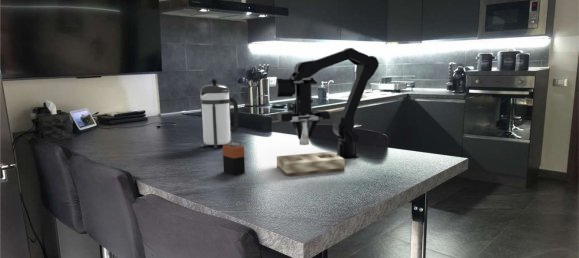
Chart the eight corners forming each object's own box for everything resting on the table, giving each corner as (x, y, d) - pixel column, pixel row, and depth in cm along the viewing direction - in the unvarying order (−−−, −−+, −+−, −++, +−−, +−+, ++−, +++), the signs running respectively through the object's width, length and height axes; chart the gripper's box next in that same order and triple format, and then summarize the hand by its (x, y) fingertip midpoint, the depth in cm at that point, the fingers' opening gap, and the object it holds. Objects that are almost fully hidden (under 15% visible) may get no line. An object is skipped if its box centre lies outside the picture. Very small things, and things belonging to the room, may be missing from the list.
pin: (307, 143, 150) (306, 119, 148) (310, 144, 146) (310, 120, 145) (298, 143, 149) (298, 119, 147) (301, 145, 145) (301, 121, 144)
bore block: (330, 162, 143) (330, 151, 142) (344, 170, 131) (344, 158, 131) (276, 167, 137) (276, 156, 136) (286, 176, 126) (286, 164, 125)
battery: (234, 175, 128) (233, 145, 126) (223, 171, 133) (221, 142, 131) (245, 173, 131) (244, 143, 129) (234, 169, 136) (232, 140, 134)
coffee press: (234, 149, 170) (231, 78, 165) (196, 149, 170) (192, 79, 165) (239, 141, 187) (237, 77, 182) (205, 142, 187) (202, 78, 183)
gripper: (319, 94, 155) (319, 133, 157) (273, 96, 150) (274, 136, 152) (330, 96, 144) (330, 138, 147) (281, 98, 139) (282, 141, 141)
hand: (304, 138), depth 147 cm, fingers closed on pin, 3 cm apart
